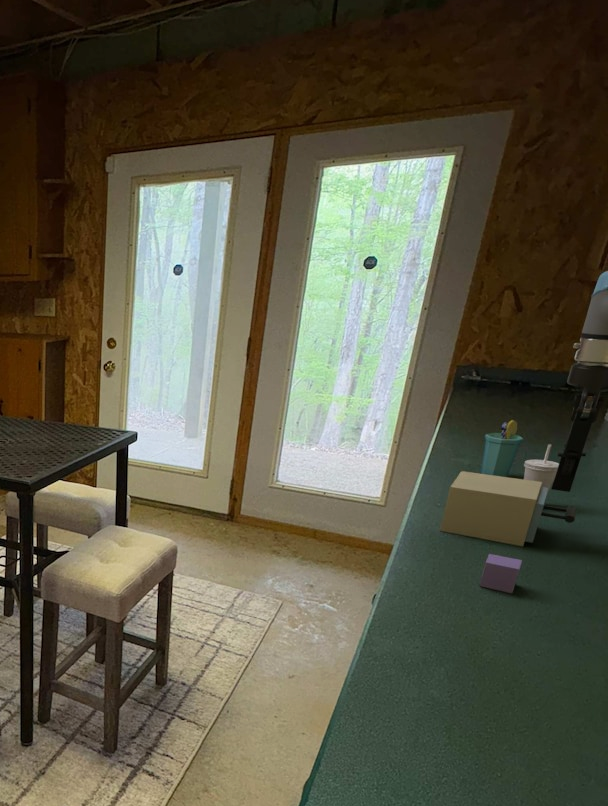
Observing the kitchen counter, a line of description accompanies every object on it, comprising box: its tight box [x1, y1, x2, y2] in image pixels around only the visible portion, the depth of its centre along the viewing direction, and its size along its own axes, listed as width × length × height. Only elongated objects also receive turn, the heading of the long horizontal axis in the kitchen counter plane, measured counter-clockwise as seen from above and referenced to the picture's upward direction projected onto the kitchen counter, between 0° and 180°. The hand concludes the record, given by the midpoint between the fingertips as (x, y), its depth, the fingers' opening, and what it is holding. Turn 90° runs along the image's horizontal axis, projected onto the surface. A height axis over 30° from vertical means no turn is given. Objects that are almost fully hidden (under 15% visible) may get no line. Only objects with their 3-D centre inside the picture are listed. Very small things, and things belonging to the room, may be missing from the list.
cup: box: [480, 419, 524, 477], centre depth 157 cm, size 14×8×15 cm, turn 136°
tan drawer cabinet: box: [439, 470, 542, 547], centre depth 127 cm, size 14×14×10 cm
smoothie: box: [523, 443, 560, 495], centre depth 138 cm, size 6×6×14 cm
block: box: [479, 553, 523, 594], centre depth 105 cm, size 4×4×4 cm
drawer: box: [524, 487, 577, 544], centre depth 124 cm, size 17×12×8 cm
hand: (560, 489), depth 119 cm, fingers closed
